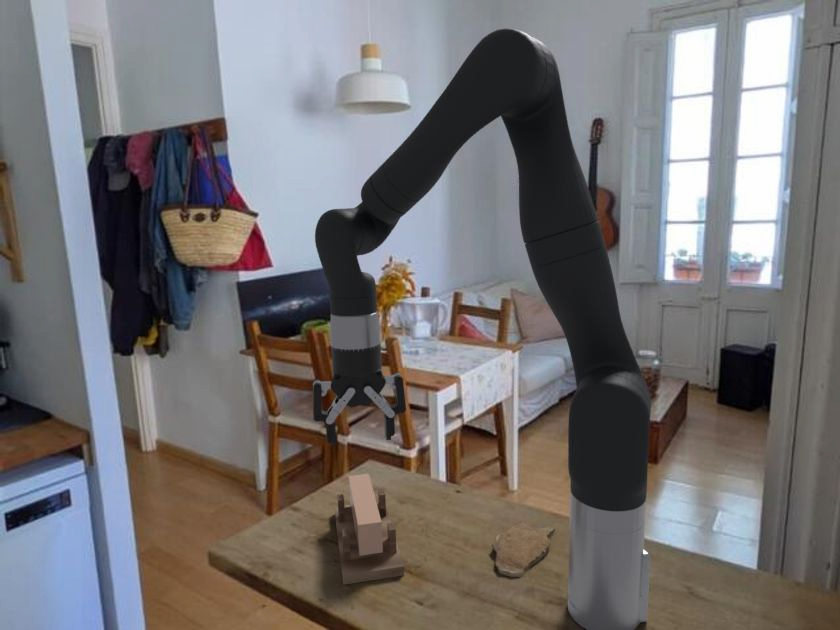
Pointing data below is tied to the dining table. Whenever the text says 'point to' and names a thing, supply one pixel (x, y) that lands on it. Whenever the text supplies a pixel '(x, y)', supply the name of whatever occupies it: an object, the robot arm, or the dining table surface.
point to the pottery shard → (521, 547)
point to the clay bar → (365, 515)
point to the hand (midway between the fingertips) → (361, 441)
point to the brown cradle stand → (371, 564)
